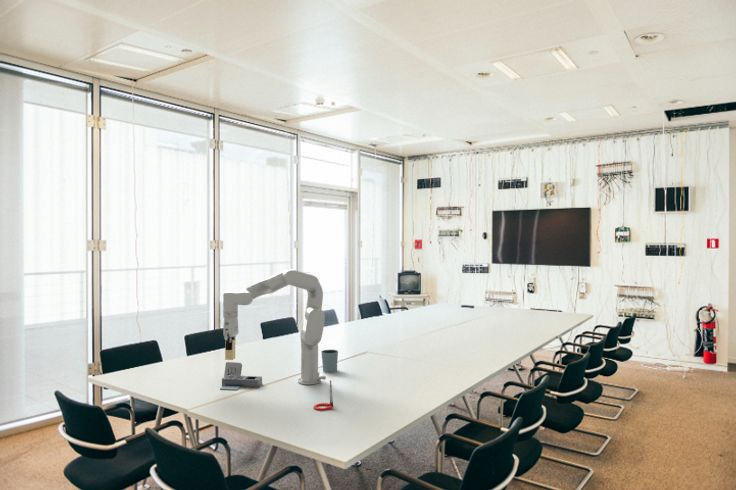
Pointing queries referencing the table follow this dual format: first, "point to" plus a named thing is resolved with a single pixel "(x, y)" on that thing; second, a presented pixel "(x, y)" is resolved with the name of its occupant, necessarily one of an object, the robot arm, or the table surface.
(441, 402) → the table surface
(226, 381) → the rail
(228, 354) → the brass peg
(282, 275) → the robot arm
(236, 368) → the electrical switch
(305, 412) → the table surface
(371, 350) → the table surface
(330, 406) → the tow hook
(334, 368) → the grey-green cup
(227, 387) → the rubber mat
